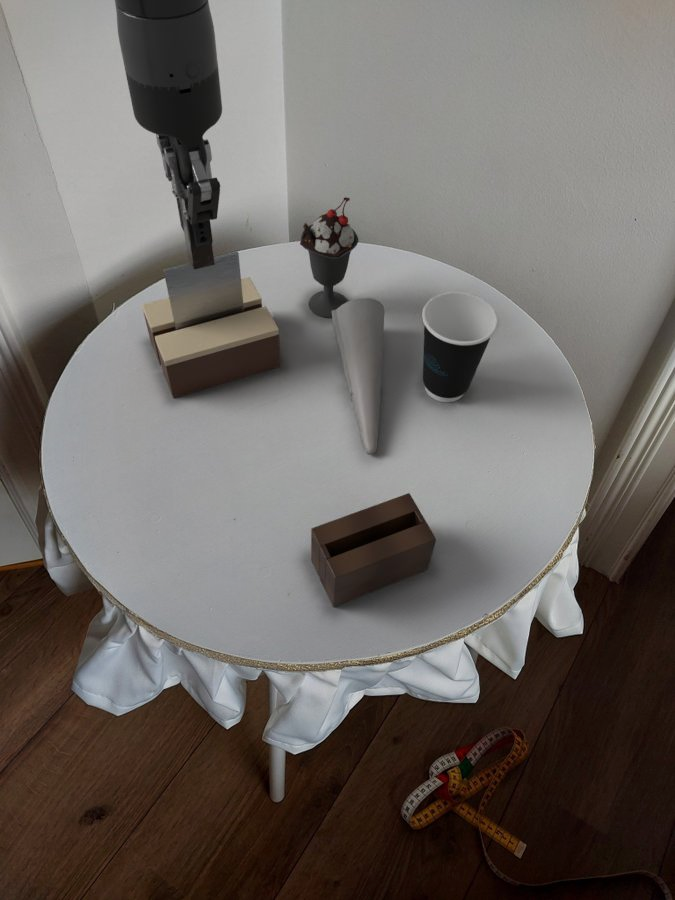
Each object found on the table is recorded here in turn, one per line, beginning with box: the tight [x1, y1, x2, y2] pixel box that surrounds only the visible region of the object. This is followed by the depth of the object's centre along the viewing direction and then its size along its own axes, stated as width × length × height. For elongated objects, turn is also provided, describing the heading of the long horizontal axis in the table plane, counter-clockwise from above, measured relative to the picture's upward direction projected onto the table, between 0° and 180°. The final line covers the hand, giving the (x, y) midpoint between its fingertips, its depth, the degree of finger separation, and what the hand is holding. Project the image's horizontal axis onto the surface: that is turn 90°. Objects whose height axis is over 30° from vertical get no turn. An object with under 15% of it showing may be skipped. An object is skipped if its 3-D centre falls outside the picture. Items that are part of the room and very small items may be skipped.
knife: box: [163, 197, 244, 330], centre depth 76 cm, size 8×2×18 cm, turn 114°
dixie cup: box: [421, 291, 499, 403], centre depth 80 cm, size 8×8×11 cm
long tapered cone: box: [331, 297, 386, 456], centre depth 82 cm, size 6×6×19 cm
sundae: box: [299, 197, 359, 319], centre depth 86 cm, size 7×7×15 cm
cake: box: [141, 276, 281, 399], centre depth 84 cm, size 13×10×6 cm
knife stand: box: [310, 492, 437, 608], centre depth 68 cm, size 10×5×6 cm, turn 114°
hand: (197, 236), depth 73 cm, fingers closed on knife, 2 cm apart
